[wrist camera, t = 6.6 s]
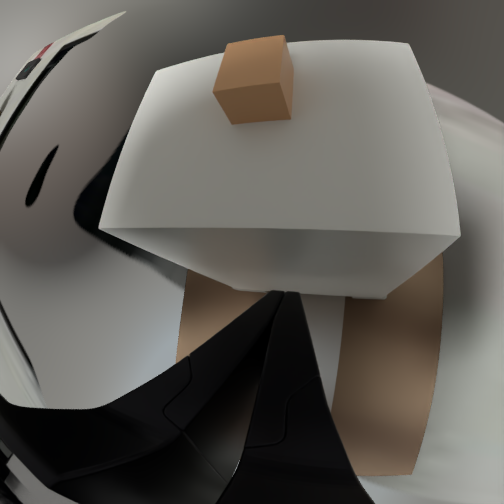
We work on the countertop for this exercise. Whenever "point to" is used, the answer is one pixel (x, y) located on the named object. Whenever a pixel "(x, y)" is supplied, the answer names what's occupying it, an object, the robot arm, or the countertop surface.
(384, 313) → the rail board
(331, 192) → the block
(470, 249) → the countertop surface
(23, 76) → the smart home device
